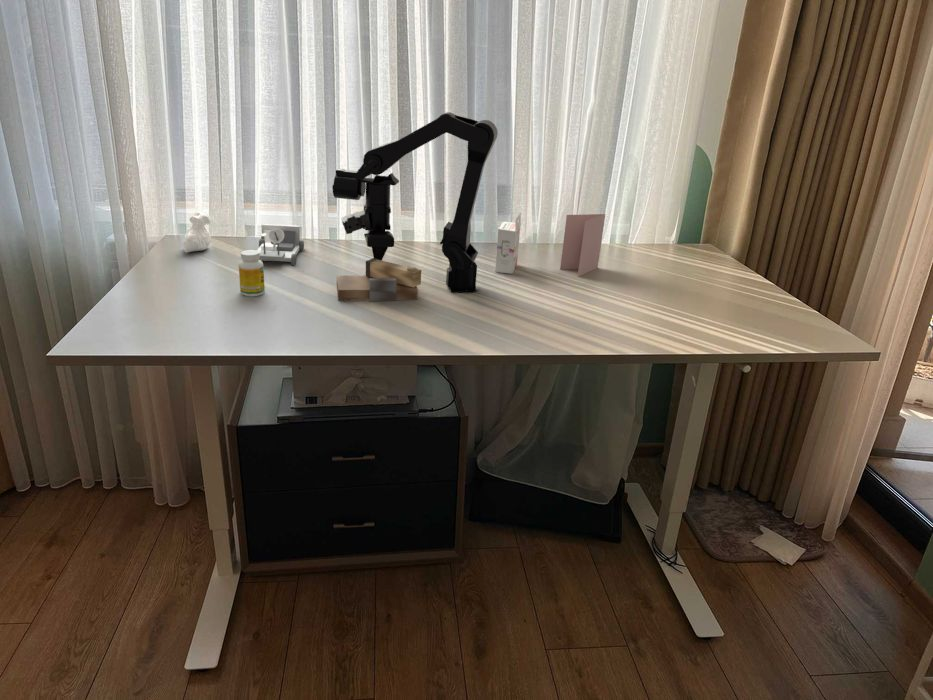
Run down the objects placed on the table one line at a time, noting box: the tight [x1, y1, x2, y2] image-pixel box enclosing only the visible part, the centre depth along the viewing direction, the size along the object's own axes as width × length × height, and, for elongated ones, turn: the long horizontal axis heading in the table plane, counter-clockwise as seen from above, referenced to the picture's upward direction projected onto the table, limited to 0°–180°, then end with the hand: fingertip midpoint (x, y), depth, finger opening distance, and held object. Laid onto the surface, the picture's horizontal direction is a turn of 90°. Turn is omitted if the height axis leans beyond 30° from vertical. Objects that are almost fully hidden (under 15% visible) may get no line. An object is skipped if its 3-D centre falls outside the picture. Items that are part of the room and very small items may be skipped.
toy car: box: [256, 223, 305, 266], centre depth 185 cm, size 18×10×12 cm
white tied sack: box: [182, 210, 212, 253], centre depth 187 cm, size 12×8×11 cm
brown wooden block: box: [336, 275, 419, 302], centre depth 166 cm, size 18×11×5 cm, turn 102°
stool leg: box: [365, 257, 422, 287], centre depth 167 cm, size 14×3×4 cm, turn 62°
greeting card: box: [559, 213, 606, 277], centre depth 189 cm, size 11×7×15 cm, turn 108°
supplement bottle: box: [238, 249, 265, 297], centre depth 160 cm, size 5×5×10 cm
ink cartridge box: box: [494, 212, 522, 275], centre depth 187 cm, size 9×5×15 cm, turn 168°
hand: (377, 265), depth 175 cm, fingers closed
